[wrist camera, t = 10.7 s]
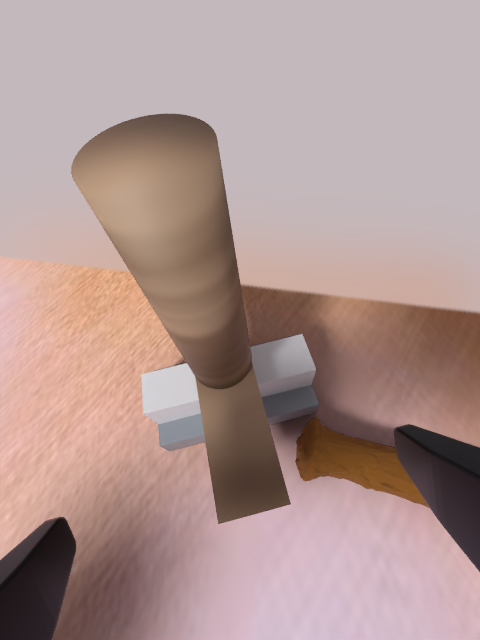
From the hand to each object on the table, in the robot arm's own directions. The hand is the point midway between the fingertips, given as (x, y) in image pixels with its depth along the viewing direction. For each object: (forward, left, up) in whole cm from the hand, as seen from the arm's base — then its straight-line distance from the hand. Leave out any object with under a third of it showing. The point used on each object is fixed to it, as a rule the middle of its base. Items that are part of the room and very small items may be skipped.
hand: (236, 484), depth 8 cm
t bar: (+5, +4, -7) cm, 10 cm away
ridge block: (+5, +4, -12) cm, 13 cm away
